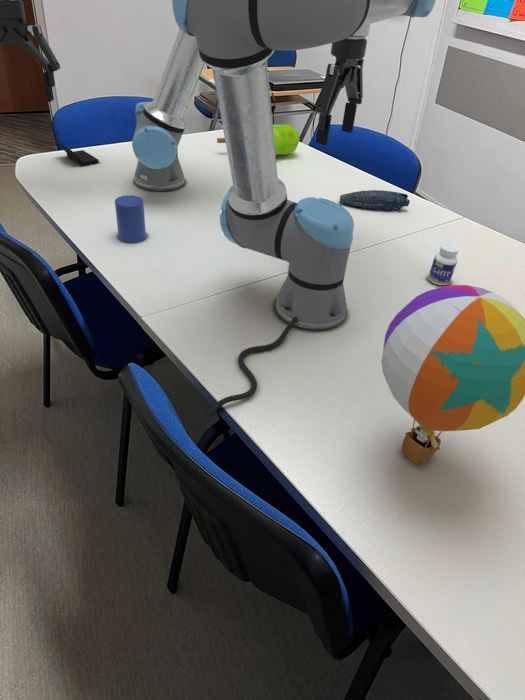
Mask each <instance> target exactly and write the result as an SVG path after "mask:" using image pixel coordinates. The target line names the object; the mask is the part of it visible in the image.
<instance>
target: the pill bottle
mask: <svg viewBox="0 0 525 700" xmlns="http://www.w3.org/2000/svg"><path fill="white" fill-rule="evenodd" d="M458 252H459V248H458V247H457V245H454V244H451V243H443V244H442V245H440V248H439V251H438V252H437V253H436V254H435V255H434V258H433V261H432V264H431V266H430V270H429V273H428V276H427V278H428V280H429V282H431V283H433V284H435V285H438V286H448V285H450V283H451V280H452V278H453V275H454V272H455V269H456V266H457V264H458V258H457V257H458V256H457V255H458Z"/></svg>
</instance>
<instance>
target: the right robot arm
mask: <svg viewBox="0 0 525 700" xmlns="http://www.w3.org/2000/svg"><path fill="white" fill-rule="evenodd" d="M436 1H437V0H171V5H172V11H173V17H174V20H175V23H176V25H177V26H178V28H180V29H181V30H183V32H184V33H186V34H188V35H189V36H195V37H196V40H197V44H198V49H199V55H200V58H201V60H202V62H203V63H204V65H205V66H206V67H208V68H210V69H212V76H213V81H214V86H215V92H216V98H217V103H218V109H219V115H220V119H221V125H222V130H223V136H224V137H223V138H225V143H224V144H225V147H226V153H227V160H228V164H229V169H230V176H231V180H232V181H231V182H232V185H231V186H230V187H229V189H228V191H227V193H226V194H225V195H224V198H223V200H222V203H221V206H220V210H221V213H220V214H219V223H220V224H219V225H220V229H221V232H222V233H223V235H224V237H225V238H226V240H228V241H229V242H231V243H233V244H234V245H237V246H239V247H240V248H243V249H248V250H250V251H253V252H257V253H260V254H263V255H265V256H269V257H272V258H275V259H278V260H281V261H284V262H287V263H289V264H288V270H287V271H288V272H287V275H286V278H285V279H284V282H283V283H282V285H281V287H280V290H279V291H278V294H277V296H276V300H275V311H276V313H277V315H278V316H279V317H280V318H281V319H282V320H283V321H284V322H286V323H287V325H286V326H285V328H284V329H283V330H282V332H281V334H280V336H279V337H278V339H276V340H275V341H273V342H271V343H269V344H265V345H263V344H262V345H256V346H251V347H248V348H246V349H243V350H242V351H241V352H240V353H239V356H238V359H237V361H238V365H239V367H240V369H241V370H242V371H243V373H244V374H245V375H246V376H247V378H248V379H249V380H250V384H251V385H250V388H249V389H248V390H247V391H245V392H243V393H238V394H233V395H229V396H226V397H223V398H222V399H219V400H218V401H217V402H216V403H214V405H212V407H211V408H210V409H209V411H208V414H207V415H208V416H209V417H213V416H214V415H215V414H216V412H218V410H219V409H220V408H221V407H223V406H224V405H226V404H229V403H231V402H236V401H240V400H244V399H247V398H250V397H252V396H253V395H254V394H255V392H256V390H257V387H258V382H257V379H256V377H255V375H254V374H253V373H252V370H250V369H249V367H248V366H247V365H246V364H245V361H244V359H245V357H246V356H247V355H249V354H251V353H255V352H261V351H268V350H271V349H274V348H276V347H278V346H280V345H281V344H282V343H283V341H284V340H285V339H286V338H287V335H288V334H289V332H290V331H291V330H292V328H293V327H296V328H300V329H304V330H310V331H324V330H325V331H326V330H329V329H333V328H336V327H337V326H339V325H340V324H342V323H343V322H344V320H345V318H346V315H347V310H348V309H347V308H348V307H347V306H348V305H347V297H346V292H345V286H344V280H345V275H346V271H347V267H348V261H349V257H350V253H351V252H350V251H351V246H352V244H353V240H354V239H353V238H354V235H353V234H354V228H355V221H354V218H353V215H352V214H351V212H349V210H348V209H346V208H345V206H343V205H341V204H339V203H338V202H335V201H333V200H330V199H327V198H324V197H323V198H322V197H318V198H316V197H314V196H311V197H309V196H308V197H305V198H301V199H300V200H298V201H297V202H296V201H292V200H288V192H287V187H286V184H285V183H284V182H283V180H281V179H280V178H278V169H277V167H278V166H277V157H276V156H277V155H275V144H274V133H273V125H274V124H273V113H272V103H271V102H272V101H271V91H270V80H269V69H268V60H269V59H270V58H271V56H273V54H274V53H275V51H299V50H308V49H312V48H317V47H321V46H325V45H330V44H331V46H330V54H331V56H332V57H335V62H334V64H333V63H328V64H327V67H326V72H325V77H324V80H323V83H322V85H321V89H320V92H319V95H318V98H317V101H316V104H315V107H314V112H315V113H316V114H319V115H318V123H317V130H316V138H315V144H319V145H322V146H327V145H329V144H328V143H329V137H330V130H331V122H332V116H333V115H332V114H331V112H332V110H333V108H334V106H335V103H336V101H337V100H338V96H339V95H340V92H341V91H342V89H343V88H345V93H346V97H347V102H345V105H344V112H343V119H342V124H341V132H345V133H348V134H352V133H353V131H354V125H355V120H356V115H357V109H358V108H357V107H358V105H361V104H362V103H363V97H364V90H363V89H364V88H363V86H364V84H363V83H364V81H363V80H364V79H363V76H364V75H363V67H364V60H365V59H364V58H365V57H366V56H365V55H366V50H367V44H368V40H367V38H366V37H368V36H369V35H370V30H371V29H370V28H371V24H375V23H379V22H381V21H386V20H389V19H393V18H396V17H401V16H403V17H404V16H405V17H410V18H412V19H413V18H423V19H424V18H427V17H428V16H429V15H430V14H431V13H432V11H433V9H434V7H435V4H436Z"/></svg>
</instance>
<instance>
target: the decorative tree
mask: <svg viewBox="0 0 525 700" xmlns="http://www.w3.org/2000/svg"><path fill="white" fill-rule="evenodd" d="M273 133H274V144H275V155H276V156H277V155H278V156H279V155H280V156H289V155H290V154H292V153H295V151H296V150H297V148H298V145H299V143H300V134H299V131H298V130H296V129H295V127H294V126H293V125H291V124H273ZM216 142H217V144H226V143H225V137H217V138H216Z"/></svg>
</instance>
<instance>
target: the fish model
mask: <svg viewBox="0 0 525 700" xmlns="http://www.w3.org/2000/svg"><path fill="white" fill-rule="evenodd" d="M410 202H411V201H410V200H409V195H408V194H406V193H403V192H402V193H401V192H399V191H392V190H382V189H380V190H379V189H377V190H376V189H368V190H360V191H352V192H348V193H344V194H341V195H340V196H339V203H343V204H346V205H349V206H351V207H357V208H362V209H371V210H372V209H374V210H384V211H385V210H386V211H391V210H394V209H397V210H402V208H404V207H408V206H409V205H410Z"/></svg>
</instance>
